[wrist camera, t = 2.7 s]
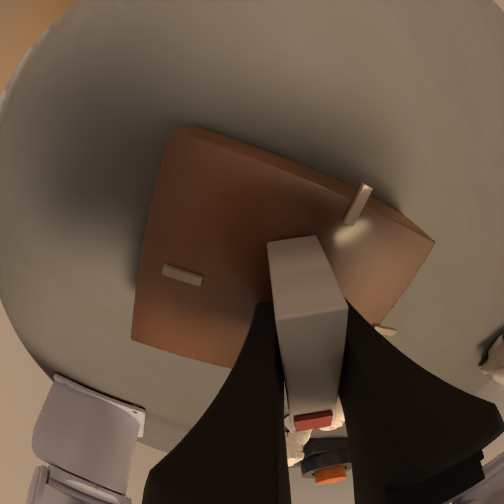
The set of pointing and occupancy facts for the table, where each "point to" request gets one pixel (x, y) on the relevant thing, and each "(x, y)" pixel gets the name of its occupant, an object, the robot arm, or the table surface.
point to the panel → (255, 243)
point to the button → (330, 475)
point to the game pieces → (307, 435)
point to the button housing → (324, 456)
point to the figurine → (495, 363)
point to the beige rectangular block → (308, 329)
